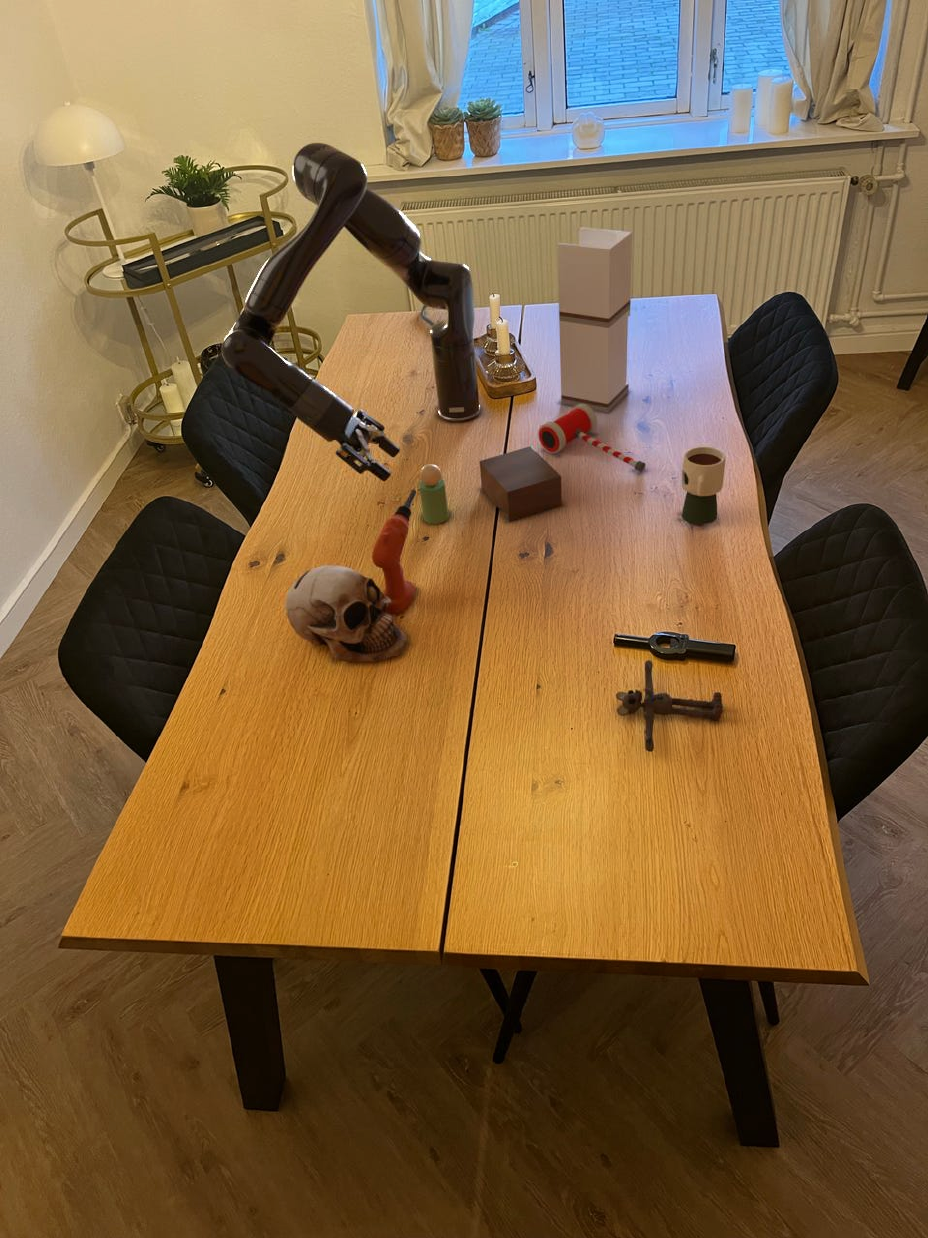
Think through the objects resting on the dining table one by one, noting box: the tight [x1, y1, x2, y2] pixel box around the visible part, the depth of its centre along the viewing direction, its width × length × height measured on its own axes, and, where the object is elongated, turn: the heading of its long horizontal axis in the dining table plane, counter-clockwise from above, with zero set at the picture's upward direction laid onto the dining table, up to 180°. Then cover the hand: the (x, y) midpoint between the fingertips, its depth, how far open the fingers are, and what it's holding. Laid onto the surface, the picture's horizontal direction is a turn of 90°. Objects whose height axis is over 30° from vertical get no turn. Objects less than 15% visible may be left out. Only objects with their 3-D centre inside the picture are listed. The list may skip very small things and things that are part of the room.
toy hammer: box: [537, 404, 646, 473], centre depth 187 cm, size 23×12×6 cm, turn 44°
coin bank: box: [285, 564, 408, 663], centre depth 148 cm, size 16×17×13 cm
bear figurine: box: [615, 659, 724, 753], centre depth 131 cm, size 18×4×14 cm
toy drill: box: [371, 489, 417, 614], centre depth 156 cm, size 5×19×15 cm, turn 163°
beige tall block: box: [556, 226, 633, 414], centre depth 197 cm, size 11×11×35 cm
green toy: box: [418, 463, 450, 525], centre depth 173 cm, size 5×5×11 cm
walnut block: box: [479, 445, 563, 522], centre depth 177 cm, size 13×11×6 cm
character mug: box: [681, 445, 727, 525], centre depth 164 cm, size 11×7×13 cm, turn 164°
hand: (392, 465), depth 170 cm, fingers open, 8 cm apart
